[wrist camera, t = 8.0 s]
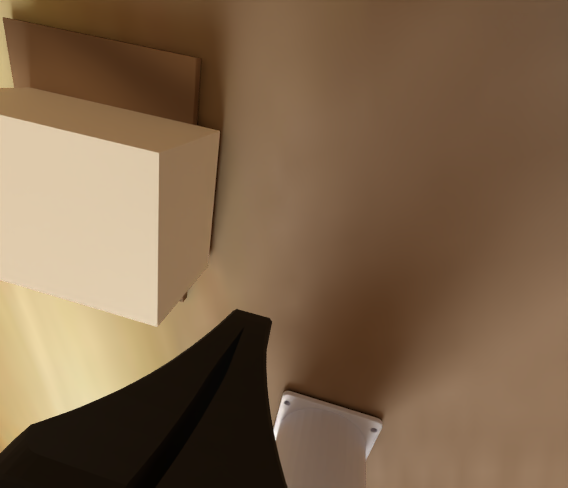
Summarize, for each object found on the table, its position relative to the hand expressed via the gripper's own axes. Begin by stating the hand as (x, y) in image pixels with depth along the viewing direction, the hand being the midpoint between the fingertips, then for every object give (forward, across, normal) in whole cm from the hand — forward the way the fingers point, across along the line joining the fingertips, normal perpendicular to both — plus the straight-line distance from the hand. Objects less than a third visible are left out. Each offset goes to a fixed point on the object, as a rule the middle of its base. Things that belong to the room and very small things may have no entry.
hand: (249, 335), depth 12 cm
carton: (+6, +5, 0) cm, 8 cm away
